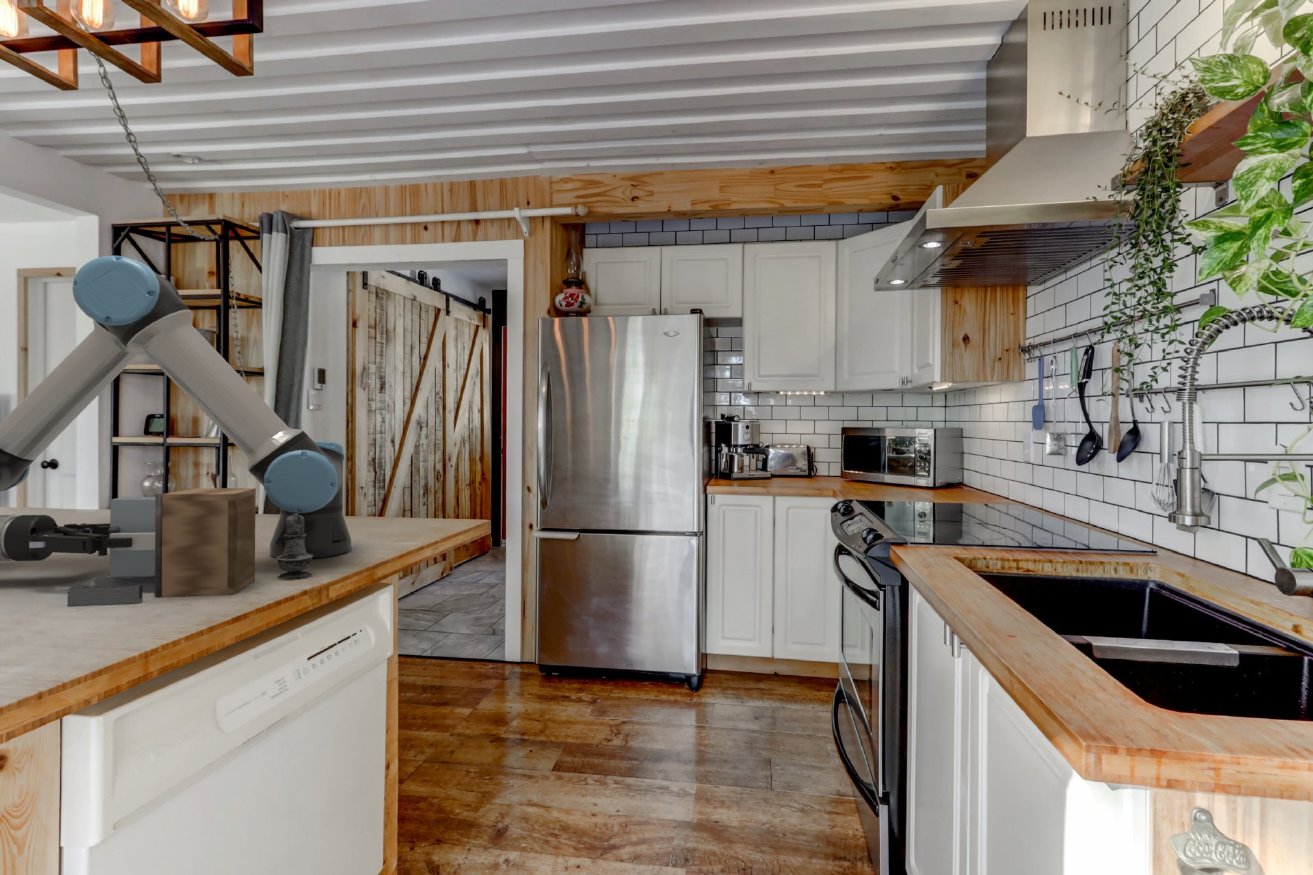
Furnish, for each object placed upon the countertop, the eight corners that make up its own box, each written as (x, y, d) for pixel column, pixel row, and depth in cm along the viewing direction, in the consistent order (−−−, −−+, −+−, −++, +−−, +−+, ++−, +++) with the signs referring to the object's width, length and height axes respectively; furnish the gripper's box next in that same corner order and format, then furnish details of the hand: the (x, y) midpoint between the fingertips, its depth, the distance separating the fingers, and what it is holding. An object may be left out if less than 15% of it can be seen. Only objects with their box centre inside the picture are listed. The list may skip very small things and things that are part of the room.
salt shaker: (307, 571, 119) (308, 506, 119) (317, 576, 115) (318, 509, 115) (271, 575, 115) (272, 508, 115) (280, 582, 111) (281, 512, 111)
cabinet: (153, 597, 100) (154, 494, 100) (180, 583, 109) (181, 488, 109) (234, 594, 103) (235, 494, 102) (254, 580, 112) (255, 488, 111)
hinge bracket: (67, 605, 95) (67, 588, 95) (97, 592, 102) (98, 576, 102) (138, 603, 97) (139, 586, 97) (163, 590, 104) (163, 574, 104)
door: (106, 584, 107) (106, 500, 106) (123, 577, 112) (123, 496, 111) (162, 583, 109) (163, 500, 108) (176, 576, 114) (177, 496, 113)
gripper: (62, 547, 117) (201, 544, 123) (-39, 577, 95) (137, 572, 101) (62, 506, 117) (202, 505, 122) (-39, 526, 95) (137, 524, 100)
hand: (173, 535), depth 111 cm, fingers open, 10 cm apart
